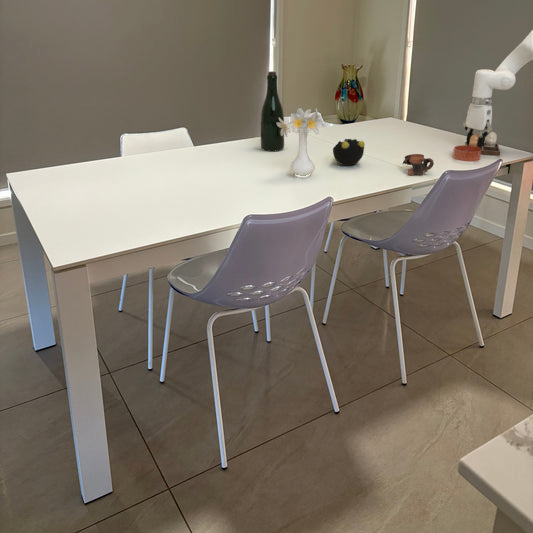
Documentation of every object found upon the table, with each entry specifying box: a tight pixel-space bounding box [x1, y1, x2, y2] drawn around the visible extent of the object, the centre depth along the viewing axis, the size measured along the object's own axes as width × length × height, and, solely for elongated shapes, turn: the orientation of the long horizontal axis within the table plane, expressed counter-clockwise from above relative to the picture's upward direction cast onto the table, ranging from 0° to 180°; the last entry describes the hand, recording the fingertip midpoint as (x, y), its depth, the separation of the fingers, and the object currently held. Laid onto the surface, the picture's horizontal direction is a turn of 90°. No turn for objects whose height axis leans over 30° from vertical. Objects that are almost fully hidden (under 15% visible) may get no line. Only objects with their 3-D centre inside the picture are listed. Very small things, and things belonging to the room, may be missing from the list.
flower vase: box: [276, 107, 326, 179], centre depth 218 cm, size 13×18×25 cm
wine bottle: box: [260, 70, 285, 152], centre depth 255 cm, size 10×10×33 cm
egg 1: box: [469, 133, 480, 148], centre depth 249 cm, size 5×5×8 cm
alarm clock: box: [332, 138, 366, 166], centre depth 236 cm, size 12×15×15 cm
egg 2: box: [484, 131, 498, 147], centre depth 254 cm, size 5×5×8 cm
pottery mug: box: [402, 153, 435, 176], centre depth 226 cm, size 12×10×8 cm
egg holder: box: [464, 141, 501, 157], centre depth 253 cm, size 14×14×2 cm
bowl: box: [452, 144, 482, 162], centre depth 242 cm, size 11×11×4 cm
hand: (474, 144), depth 250 cm, fingers open, 5 cm apart
